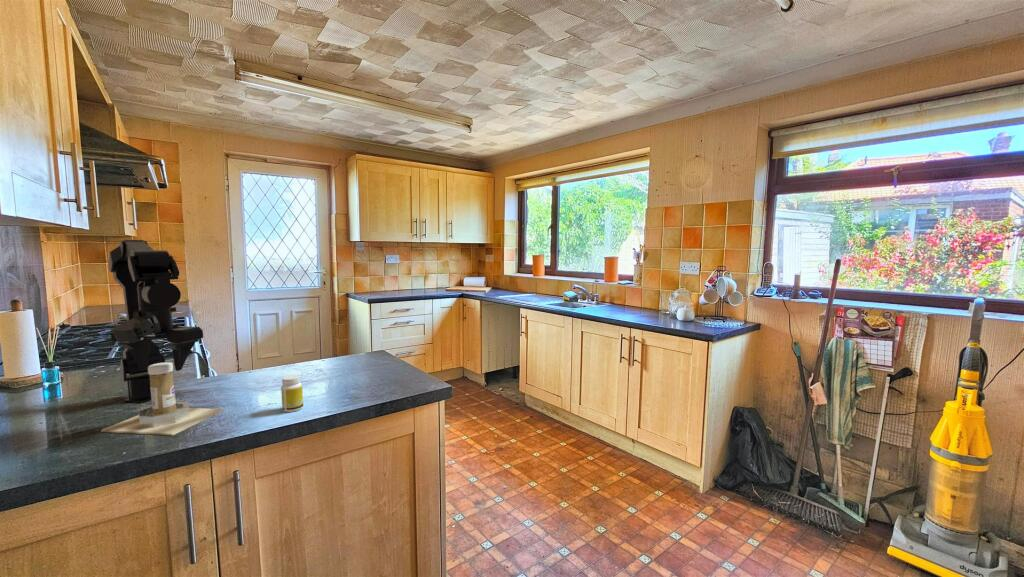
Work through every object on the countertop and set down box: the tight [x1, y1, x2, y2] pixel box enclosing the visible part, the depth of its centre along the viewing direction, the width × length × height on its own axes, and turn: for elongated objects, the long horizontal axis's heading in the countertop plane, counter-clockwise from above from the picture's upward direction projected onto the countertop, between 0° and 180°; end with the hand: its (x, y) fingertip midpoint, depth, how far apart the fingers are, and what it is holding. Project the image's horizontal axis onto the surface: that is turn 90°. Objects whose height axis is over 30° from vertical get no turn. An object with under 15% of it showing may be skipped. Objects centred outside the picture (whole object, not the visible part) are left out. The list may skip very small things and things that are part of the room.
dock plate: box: [100, 407, 224, 436], centre depth 101 cm, size 18×14×1 cm
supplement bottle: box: [280, 374, 304, 413], centre depth 107 cm, size 5×5×8 cm
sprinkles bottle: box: [148, 361, 177, 415], centre depth 100 cm, size 5×5×13 cm
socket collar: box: [138, 401, 190, 427], centre depth 101 cm, size 9×9×2 cm
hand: (161, 369), depth 100 cm, fingers open, 9 cm apart
